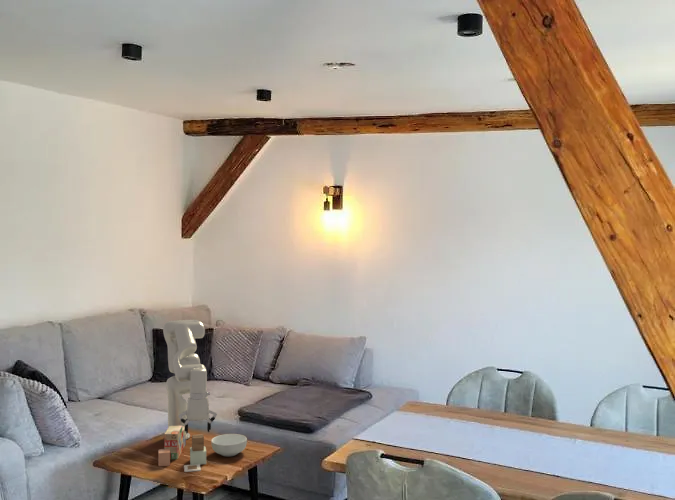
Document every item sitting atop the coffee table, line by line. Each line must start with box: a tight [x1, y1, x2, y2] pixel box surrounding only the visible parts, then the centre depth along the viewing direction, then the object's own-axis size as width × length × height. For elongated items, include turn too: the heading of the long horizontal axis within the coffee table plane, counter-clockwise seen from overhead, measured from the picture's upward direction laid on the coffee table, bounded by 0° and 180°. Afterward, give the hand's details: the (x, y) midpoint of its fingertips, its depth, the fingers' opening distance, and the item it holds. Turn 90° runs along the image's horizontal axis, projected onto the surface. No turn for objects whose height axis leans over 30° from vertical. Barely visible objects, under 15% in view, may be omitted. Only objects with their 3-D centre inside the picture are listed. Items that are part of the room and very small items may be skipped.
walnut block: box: [191, 433, 205, 451], centre depth 302 cm, size 5×5×6 cm
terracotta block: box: [157, 448, 171, 467], centre depth 299 cm, size 5×5×6 cm
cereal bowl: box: [210, 433, 248, 457], centre depth 313 cm, size 17×17×7 cm
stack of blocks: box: [163, 426, 187, 460], centre depth 315 cm, size 21×6×12 cm, turn 3°
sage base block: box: [189, 445, 207, 466], centre depth 302 cm, size 7×7×6 cm
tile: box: [183, 464, 202, 473], centre depth 293 cm, size 7×7×1 cm
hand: (197, 431), depth 302 cm, fingers open, 9 cm apart
